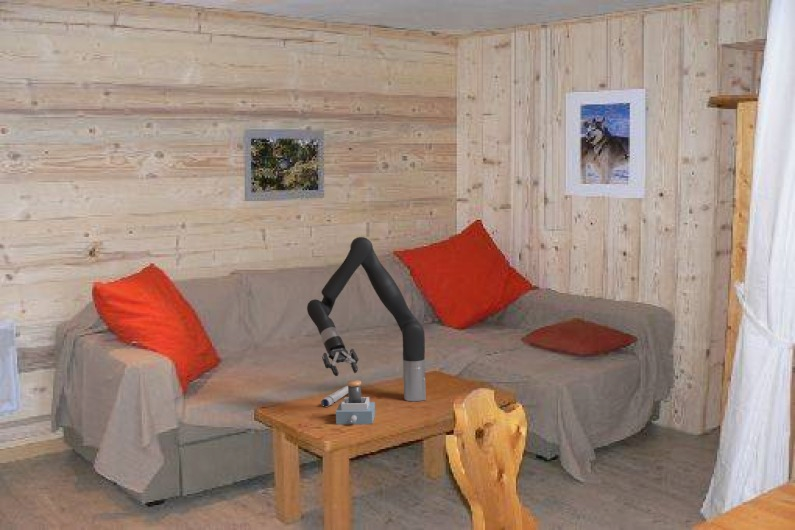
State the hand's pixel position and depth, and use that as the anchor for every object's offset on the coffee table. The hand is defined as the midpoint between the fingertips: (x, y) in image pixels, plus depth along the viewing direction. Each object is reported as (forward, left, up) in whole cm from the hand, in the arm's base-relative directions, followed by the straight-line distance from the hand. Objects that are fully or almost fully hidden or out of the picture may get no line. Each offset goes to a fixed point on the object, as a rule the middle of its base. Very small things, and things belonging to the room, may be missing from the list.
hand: (346, 373), depth 356 cm
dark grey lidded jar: (-4, +5, -12) cm, 14 cm away
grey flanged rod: (+6, -24, -18) cm, 31 cm away
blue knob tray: (-4, +7, -17) cm, 19 cm away
